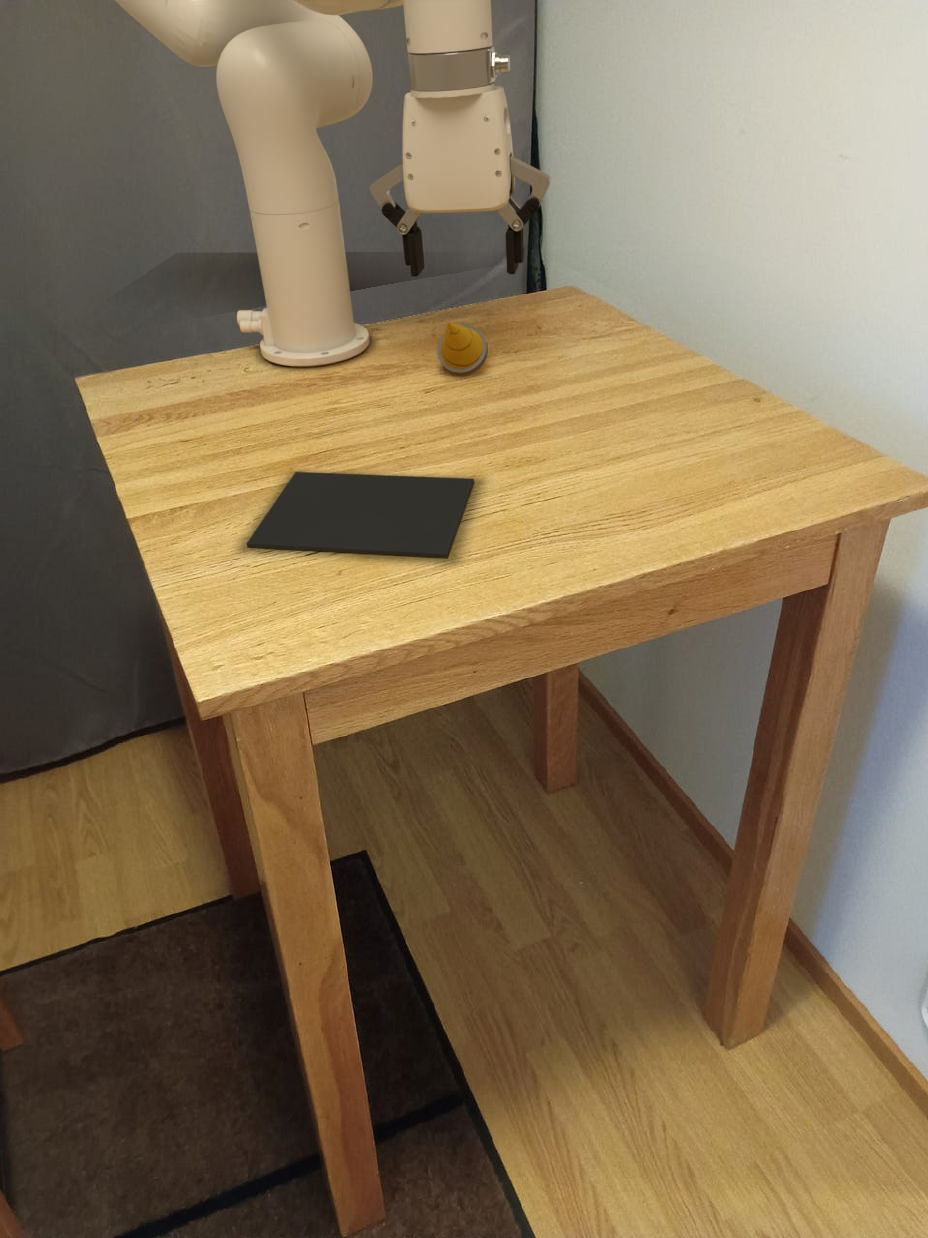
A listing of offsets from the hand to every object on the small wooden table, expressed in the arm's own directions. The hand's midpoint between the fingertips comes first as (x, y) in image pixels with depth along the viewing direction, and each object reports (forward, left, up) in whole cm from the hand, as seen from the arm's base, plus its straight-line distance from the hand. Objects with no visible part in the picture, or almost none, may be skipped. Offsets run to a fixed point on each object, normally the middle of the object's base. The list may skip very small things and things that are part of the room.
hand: (465, 271), depth 92 cm
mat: (-4, -30, -11) cm, 32 cm away
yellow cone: (-1, 0, -11) cm, 11 cm away
